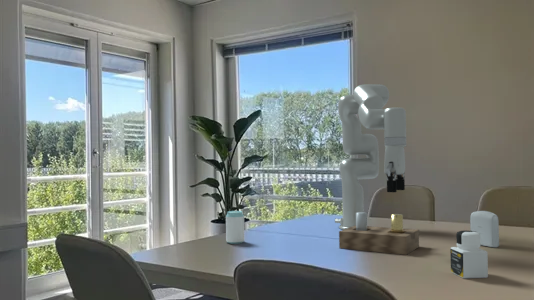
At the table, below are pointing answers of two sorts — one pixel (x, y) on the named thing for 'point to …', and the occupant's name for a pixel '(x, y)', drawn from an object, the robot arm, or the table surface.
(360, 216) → the grey pin
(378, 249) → the bore block
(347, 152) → the robot arm
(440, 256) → the table surface
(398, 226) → the brass pin
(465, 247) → the medicine bottle
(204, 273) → the table surface
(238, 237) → the can
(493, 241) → the photo printer
